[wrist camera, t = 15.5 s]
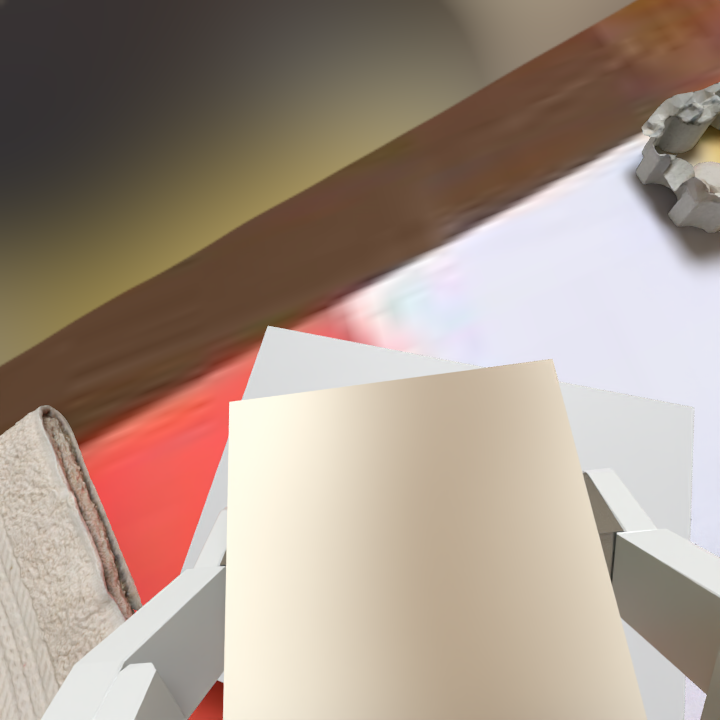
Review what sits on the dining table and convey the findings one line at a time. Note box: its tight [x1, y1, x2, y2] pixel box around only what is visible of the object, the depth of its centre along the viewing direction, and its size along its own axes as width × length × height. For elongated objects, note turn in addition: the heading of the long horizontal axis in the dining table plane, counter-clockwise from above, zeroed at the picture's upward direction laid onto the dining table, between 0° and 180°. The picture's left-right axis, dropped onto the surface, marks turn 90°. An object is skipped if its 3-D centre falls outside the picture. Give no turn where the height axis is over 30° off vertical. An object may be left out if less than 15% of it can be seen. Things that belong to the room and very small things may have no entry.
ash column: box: [223, 359, 647, 720], centre depth 10 cm, size 5×5×9 cm
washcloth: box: [0, 405, 143, 720], centre depth 22 cm, size 12×18×3 cm, turn 36°
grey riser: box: [181, 326, 695, 720], centre depth 19 cm, size 18×14×5 cm
